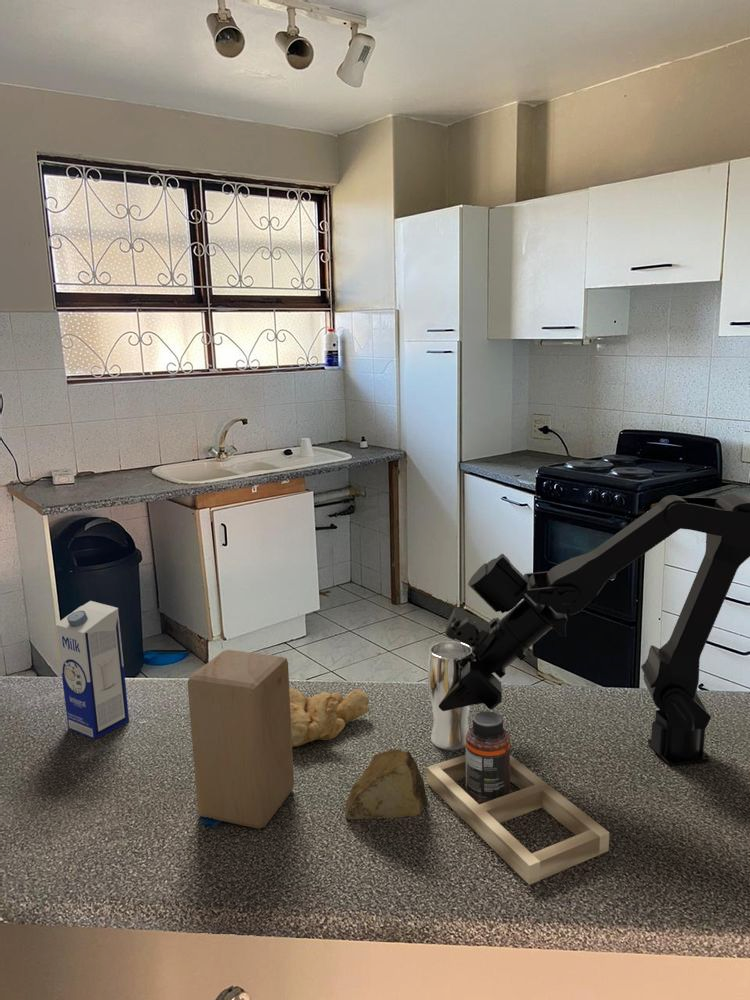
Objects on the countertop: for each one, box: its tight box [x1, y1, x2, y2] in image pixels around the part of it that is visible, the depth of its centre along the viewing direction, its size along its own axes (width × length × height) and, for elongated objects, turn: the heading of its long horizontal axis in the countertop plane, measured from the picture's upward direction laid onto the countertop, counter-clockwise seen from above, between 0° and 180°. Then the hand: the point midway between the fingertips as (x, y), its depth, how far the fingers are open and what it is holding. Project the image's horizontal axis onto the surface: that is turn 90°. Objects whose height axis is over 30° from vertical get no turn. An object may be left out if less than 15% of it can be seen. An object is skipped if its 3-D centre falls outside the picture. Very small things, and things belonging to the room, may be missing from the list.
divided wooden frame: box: [426, 754, 610, 886], centre depth 97 cm, size 22×12×2 cm, turn 27°
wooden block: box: [187, 649, 295, 829], centre depth 98 cm, size 10×10×20 cm
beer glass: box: [427, 640, 473, 751], centre depth 113 cm, size 7×7×15 cm
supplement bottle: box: [465, 710, 511, 804], centre depth 100 cm, size 6×6×11 cm
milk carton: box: [55, 600, 130, 741], centre depth 120 cm, size 7×7×20 cm
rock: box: [344, 748, 428, 820], centre depth 98 cm, size 11×9×10 cm
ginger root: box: [289, 686, 371, 748], centre depth 118 cm, size 16×16×8 cm
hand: (441, 697), depth 114 cm, fingers closed on beer glass, 6 cm apart
